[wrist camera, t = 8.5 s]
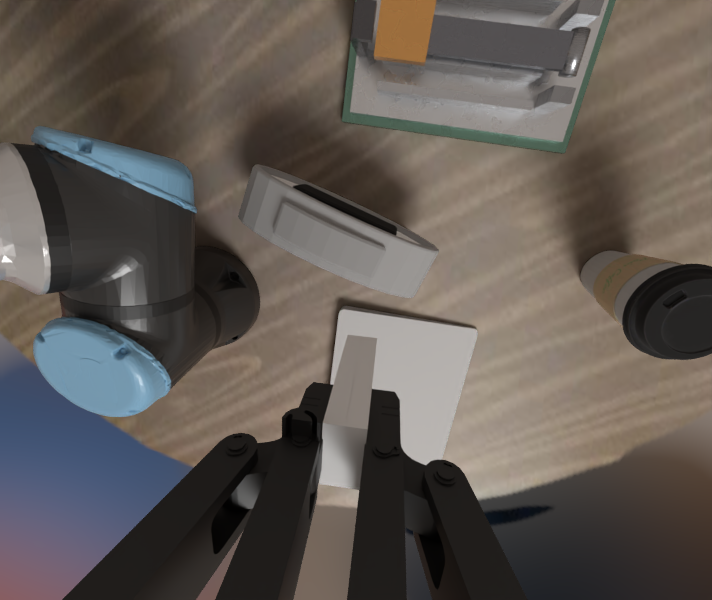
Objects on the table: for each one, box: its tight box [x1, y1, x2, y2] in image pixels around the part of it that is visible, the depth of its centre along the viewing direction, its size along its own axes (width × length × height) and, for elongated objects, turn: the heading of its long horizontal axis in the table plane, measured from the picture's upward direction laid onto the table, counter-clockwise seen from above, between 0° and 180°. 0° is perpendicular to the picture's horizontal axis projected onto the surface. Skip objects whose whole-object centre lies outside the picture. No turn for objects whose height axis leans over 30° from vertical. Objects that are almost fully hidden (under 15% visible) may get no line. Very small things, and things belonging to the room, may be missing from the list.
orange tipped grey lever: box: [374, 0, 591, 78], centre depth 33 cm, size 19×5×2 cm, turn 82°
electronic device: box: [330, 306, 478, 465], centre depth 56 cm, size 29×20×2 cm
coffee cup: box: [580, 251, 712, 360], centre depth 38 cm, size 9×9×15 cm
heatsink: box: [342, 0, 616, 154], centre depth 35 cm, size 26×16×8 cm, turn 82°
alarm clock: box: [238, 164, 439, 298], centre depth 41 cm, size 23×6×13 cm, turn 66°
